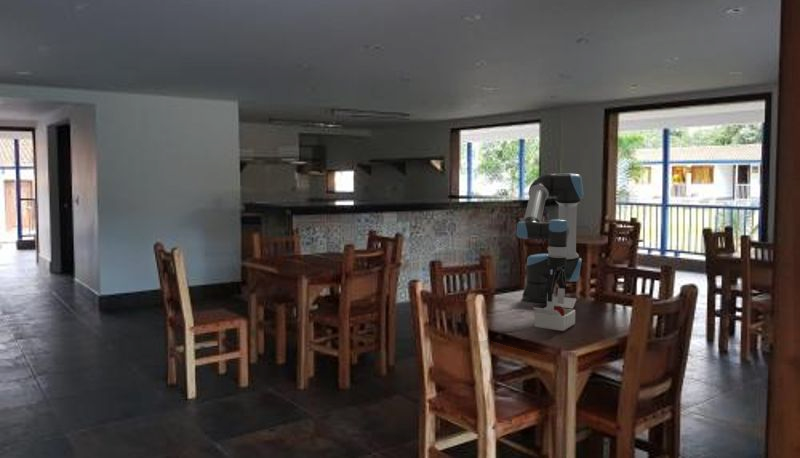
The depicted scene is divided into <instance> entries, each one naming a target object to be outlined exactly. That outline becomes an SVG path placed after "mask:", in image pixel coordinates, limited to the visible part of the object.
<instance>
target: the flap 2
mask: <svg viewBox="0 0 800 458" xmlns="http://www.w3.org/2000/svg"><path fill="white" fill-rule="evenodd" d="M557 302H558V295H557V296H555V295H554V306H561V307H562V308H563V309H571V310H574V307H575V304H576V302H577V298H572V297H567V296H566V297H565V296H564V304H560V303H557Z"/></svg>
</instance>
